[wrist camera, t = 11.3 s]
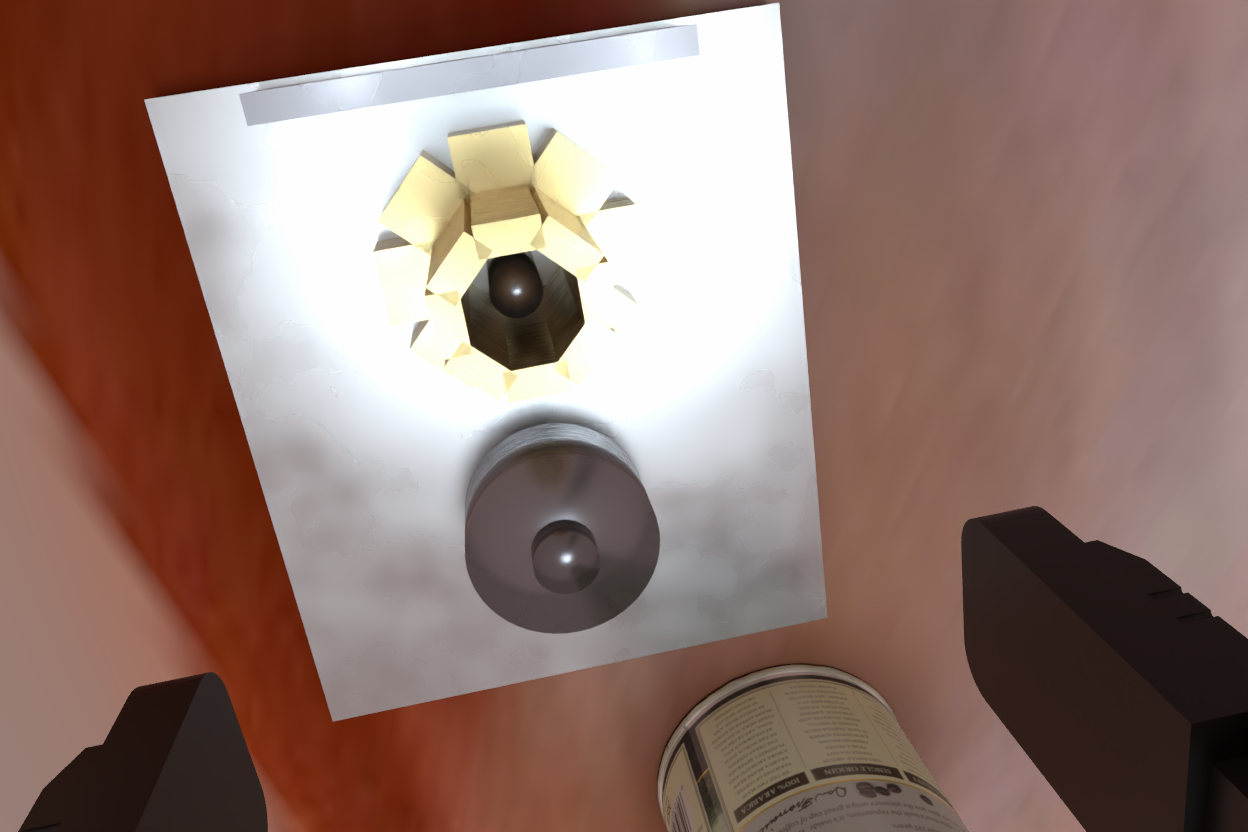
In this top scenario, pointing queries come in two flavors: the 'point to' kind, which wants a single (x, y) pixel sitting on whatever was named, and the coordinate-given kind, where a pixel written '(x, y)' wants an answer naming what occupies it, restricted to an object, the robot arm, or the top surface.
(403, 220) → the gear
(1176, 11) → the top surface
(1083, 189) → the top surface
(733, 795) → the coffee can
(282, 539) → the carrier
